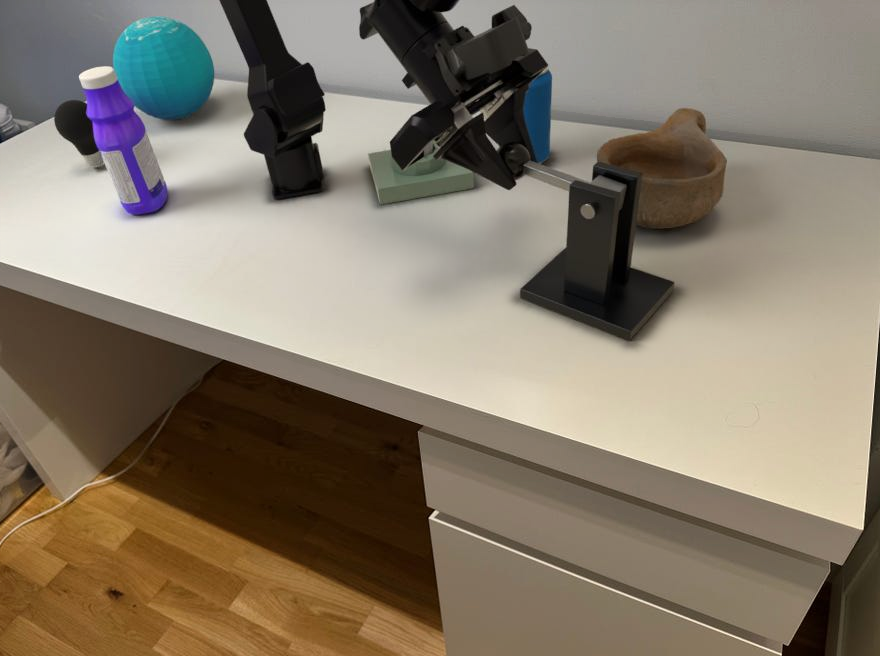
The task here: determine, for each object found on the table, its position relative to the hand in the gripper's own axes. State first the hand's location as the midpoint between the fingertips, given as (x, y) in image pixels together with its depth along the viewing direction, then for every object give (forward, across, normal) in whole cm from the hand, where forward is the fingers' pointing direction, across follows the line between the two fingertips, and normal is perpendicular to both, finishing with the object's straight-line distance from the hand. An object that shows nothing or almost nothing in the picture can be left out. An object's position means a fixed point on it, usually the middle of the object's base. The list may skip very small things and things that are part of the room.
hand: (524, 179), depth 67 cm
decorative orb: (-43, +6, +58) cm, 72 cm away
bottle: (-28, -14, +43) cm, 53 cm away
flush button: (-11, +10, +21) cm, 25 cm away
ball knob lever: (+3, 0, -2) cm, 3 cm away
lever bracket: (+13, 0, +2) cm, 13 cm away
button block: (-9, +10, +23) cm, 27 cm away
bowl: (+12, +19, +4) cm, 22 cm away
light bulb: (-40, -12, +54) cm, 69 cm away
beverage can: (-2, +20, +17) cm, 27 cm away
